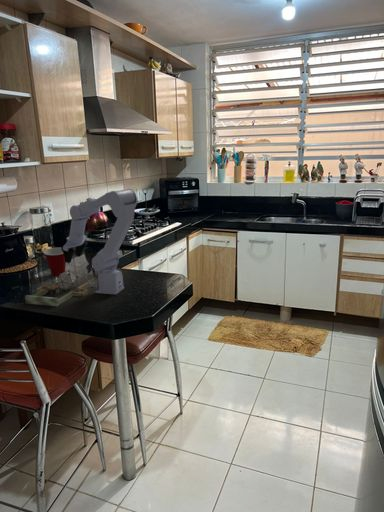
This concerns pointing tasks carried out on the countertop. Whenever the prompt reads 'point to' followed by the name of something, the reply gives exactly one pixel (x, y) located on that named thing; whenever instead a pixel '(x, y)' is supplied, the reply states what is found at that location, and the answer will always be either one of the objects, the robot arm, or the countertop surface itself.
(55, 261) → the plastic cup
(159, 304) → the countertop surface
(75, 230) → the robot arm
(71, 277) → the game die
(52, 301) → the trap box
